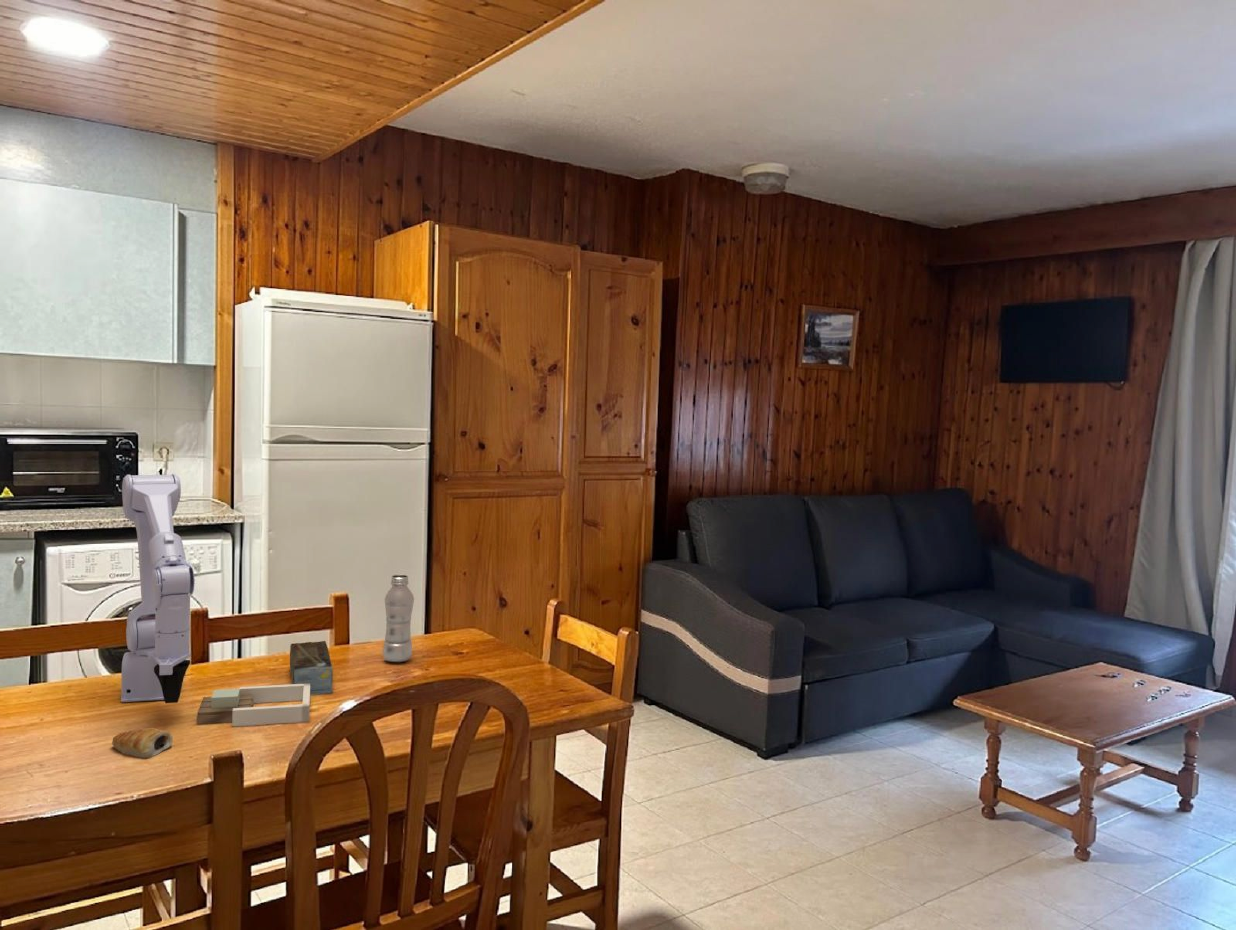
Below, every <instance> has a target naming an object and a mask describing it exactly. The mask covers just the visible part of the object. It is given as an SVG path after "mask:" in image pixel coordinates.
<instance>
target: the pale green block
mask: <svg viewBox="0 0 1236 930" xmlns="http://www.w3.org/2000/svg"><path fill="white" fill-rule="evenodd" d="M211 697H212V698H211V708H225V707H238V703H239V700H240V689H239V688H223V689H222V688H221V689H214V690H213V692H212V695H211Z"/></svg>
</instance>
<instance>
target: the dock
mask: <svg viewBox="0 0 1236 930" xmlns="http://www.w3.org/2000/svg"><path fill="white" fill-rule="evenodd" d="M238 689H240V695H253V704H261V703H262V704H265V703H281V702H295V701H296V702H297V701H302V703H300V704H285V705H284V704H283V705H266V706H253V707H248V708H233V713H232V724H231V725H232V726H231V727H246V726H260V725H262V726H263V725H276V724H278V725H279V724H291V723H292V724H293V723H308V722H309V721H310V706H311V705H310V703H311V695H310V683H309V684H292V683H291V684H274V685H272V684H271V685H255V686H254V685H253V686H239V687H238Z"/></svg>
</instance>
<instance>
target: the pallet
mask: <svg viewBox="0 0 1236 930" xmlns="http://www.w3.org/2000/svg"><path fill="white" fill-rule="evenodd" d="M211 698H212V696H204V697H202V699H201V702H200V705H199V708H198V710H197V713H196V726H200V725H201V726H202V725H203V726H204V725H216V724H230V723H232V713H233V708H248V707H254V703H253V695H240V700H239V703H238V707H225V708H211Z"/></svg>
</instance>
